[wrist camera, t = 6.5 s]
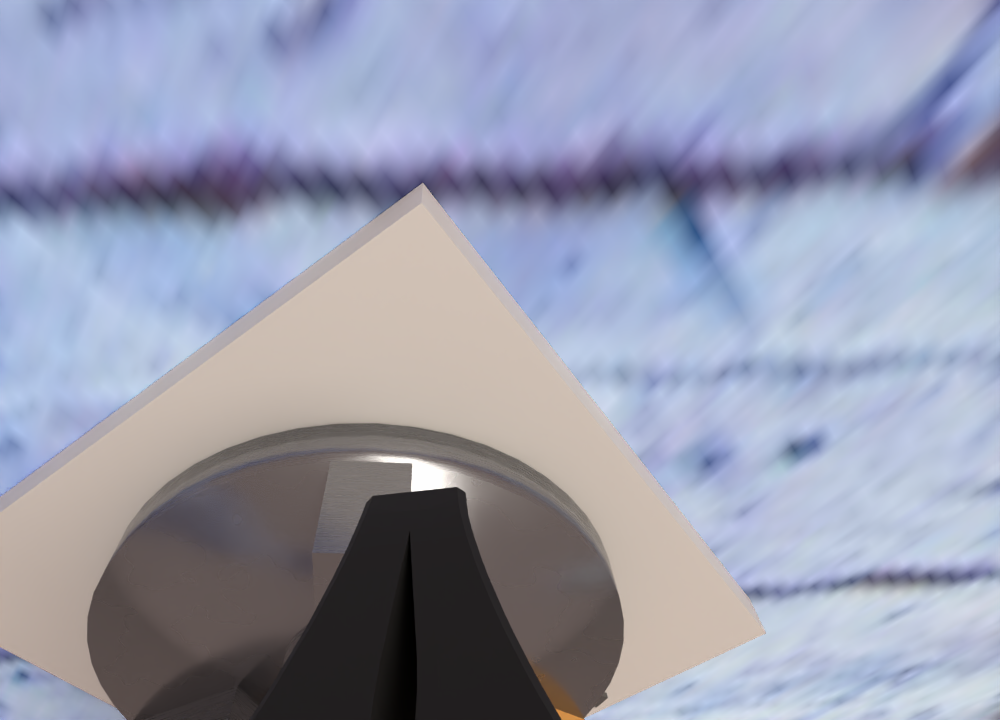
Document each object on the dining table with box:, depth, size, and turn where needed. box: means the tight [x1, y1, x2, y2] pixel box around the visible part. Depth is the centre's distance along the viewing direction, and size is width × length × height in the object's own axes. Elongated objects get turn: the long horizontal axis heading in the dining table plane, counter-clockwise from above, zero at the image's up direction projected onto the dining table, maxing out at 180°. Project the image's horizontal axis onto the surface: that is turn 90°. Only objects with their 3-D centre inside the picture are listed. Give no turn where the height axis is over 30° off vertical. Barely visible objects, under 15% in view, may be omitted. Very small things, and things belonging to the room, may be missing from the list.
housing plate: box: [0, 183, 766, 717], centre depth 23 cm, size 20×20×2 cm
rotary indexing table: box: [87, 423, 624, 720], centre depth 21 cm, size 16×16×5 cm
